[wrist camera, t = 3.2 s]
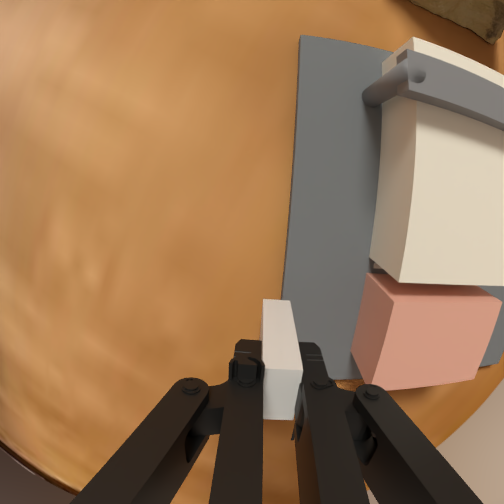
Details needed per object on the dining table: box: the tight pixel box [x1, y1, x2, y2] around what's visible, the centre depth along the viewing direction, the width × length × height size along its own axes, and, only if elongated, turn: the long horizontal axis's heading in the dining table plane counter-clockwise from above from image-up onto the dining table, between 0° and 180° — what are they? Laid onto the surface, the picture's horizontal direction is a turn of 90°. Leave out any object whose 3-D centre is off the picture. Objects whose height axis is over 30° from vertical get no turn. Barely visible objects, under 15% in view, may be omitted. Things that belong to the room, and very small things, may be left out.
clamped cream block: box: [362, 37, 504, 286], centre depth 13 cm, size 11×12×6 cm
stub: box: [350, 273, 502, 391], centre depth 16 cm, size 8×6×4 cm
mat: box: [281, 35, 504, 380], centre depth 17 cm, size 21×22×1 cm
